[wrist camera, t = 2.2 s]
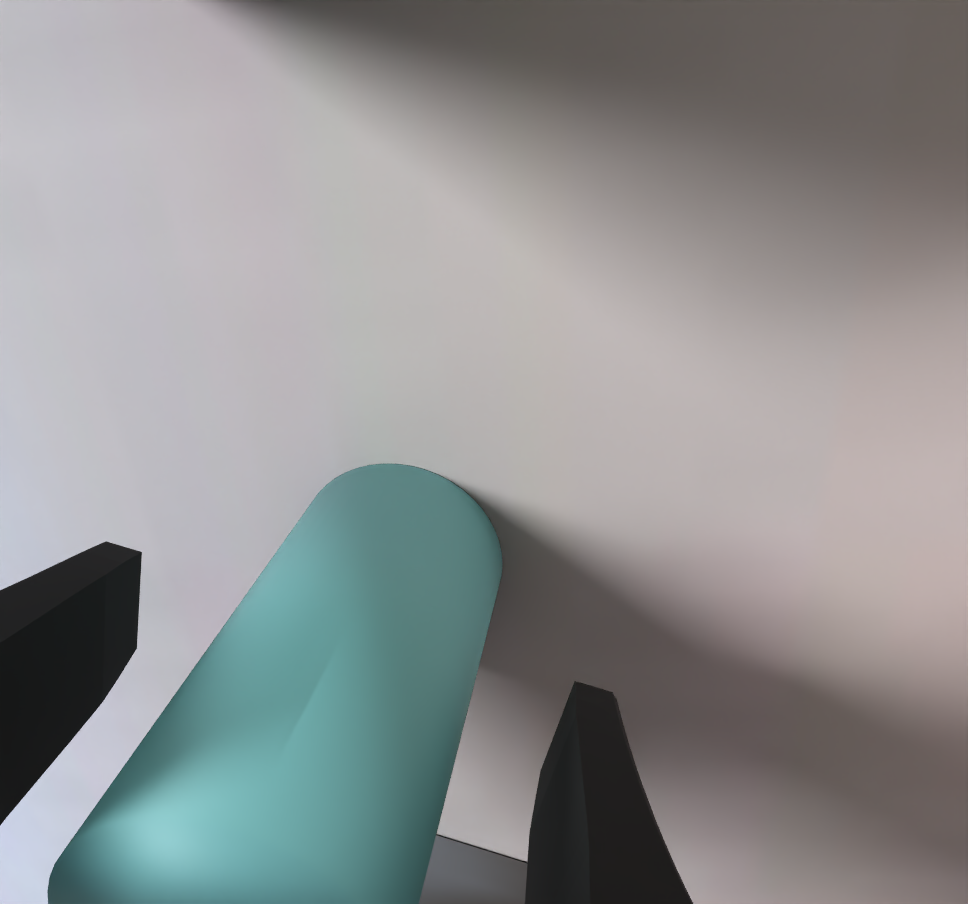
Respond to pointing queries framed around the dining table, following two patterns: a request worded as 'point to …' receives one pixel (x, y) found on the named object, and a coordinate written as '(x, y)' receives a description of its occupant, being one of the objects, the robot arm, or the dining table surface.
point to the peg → (311, 716)
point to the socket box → (472, 876)
